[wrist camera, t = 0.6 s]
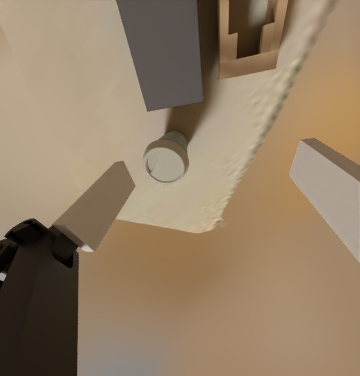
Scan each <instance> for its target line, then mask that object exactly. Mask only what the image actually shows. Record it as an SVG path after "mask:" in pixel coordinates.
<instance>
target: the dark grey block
mask: <svg viewBox="0 0 360 376" xmlns="http://www.w3.org/2000/svg"><path fill="white" fill-rule="evenodd" d="M116 1H117V5H118V8H119V12H120V15H121V19H122V23H123V26H124V30H125V33H126V37H127V40H128V44H129V48H130V51H131V55H132V58H133V62H134V66H135V69H136V73H137V76H138V80H139V84H140V87H141V91H142V94H143V98H144V101H145V105H146V109H147V112H148V111H153V110H159V109H165V108H170V107H176V106H181V105H187V104H192V103H198V102H203V84H202V67H201V51H200V34H199V18H198V1H197V0H116Z"/></svg>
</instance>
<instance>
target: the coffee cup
mask: <svg viewBox="0 0 360 376" xmlns="http://www.w3.org/2000/svg"><path fill="white" fill-rule="evenodd" d="M143 166H144V169H145V172H146V173H147V175H148V176H149V177H150V178H151V179H152V180H154V181H156V182H158V183H161V184H173V183H176V182H177V181H179V180H180V179H181V178H183V177H184V175H185V174H186V172H187V170H188V167H189V159H188V156H187V139H186V137H185V136H184V134H183V133H181V132H179V131H176V130H173V131H170V132H168V133H167V134H165V135H164V136H163V137H161V138H160V139H159V140H157V141H154V142H152V143H151V144H149V145H148V147H147V148H146V150H145V152H144V155H143Z"/></svg>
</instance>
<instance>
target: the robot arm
mask: <svg viewBox="0 0 360 376" xmlns="http://www.w3.org/2000/svg"><path fill="white" fill-rule="evenodd" d="M289 176H290V177H291V179H292V180H293V181H294V182H295V184H296V185H297V186H298V187H299V189H300V190H301V191H302V192H303V193H304V195H305V196H306V197H307V198H308V200H309V201H310V202H311V203H312V204H313V206H314V207H315V208H316V209H317V211H318V212H319V213H320V214H321V216H322V217H323V218H324V219H325V220H326V222H327V223H328V224H329V226H330V227H331V228H332V229H333V230H334V232H335V233H336V234H337V235H338V237H339V238H340V239H341V240H342V242H343V243H344V244H345V245H346V246H347V248H348V249H349V250H350V252H351V253H352V254H353V255H354V256H355V258H356V259H357V260H358V261H359V263H360V165H358V164H357V163H355V162H353V161H351V160H350V159H348V158H347V157H345V156H343V155H341V154H340V153H338V152H336V151H335V150H333V149H332V148H330V147H328V146H327V145H325V144H323V143H322V142H320V141H318V140H317V139H315V138H311V139H303V140H300V142H299V145H298V148H297V151H296V155H295V157H294V161H293V163H292V166H291V169H290V172H289ZM134 187H135V184H134V182H133V180H132V178H131V176H130V174H129V172H128V170H127V167H126V165H125V163H124V161H119V162H115V163H114V164H113V165H112V166H111V167H110V168H109V169H108V170H107V171H106V172H105V173H104V174H103V175H102V176H101V177H100V178H99V179H98V180H97V181H96V182H95V183H94V184H93V185H92V186H91V187H90V188H89V189H88V190H87V191H86V192H85V193H84V194H83V195H82V196H81V197H80V198H79V199H78V200H77V201H76V202H75V203H74V204H73V205H72V206H71V207H70V208H69V209H68V210H67V211H66V212H65V213H64V214H63V215H62V216H61V217H60V218H59V219H58V220H56V221H55V223H53V225H52V226H51V227H50V228H49V229H47V228H46V227H45V226H43V225H42V224H41V223H40V222H38V221H37V220H36V219H29V220H25V221H23V222H21V223H20V224H18V225H16V226H15V227H13V228H12V229H11V230H10V231H8V232H7V234H6V235H5V236H4V237H6V238H7V239H3V240H1V241H0V273H4V274H6V278H5V280H4V281H1V280H0V376H77V342H78V341H77V340H78V266H79V265H78V264H79V257H78V256H79V254H78V252H77V251H76V249H77V248H78V246H79V247H80V248H81V249H82V250H84V251H88V252H95V250H96V249H97V247H98V246H99V244H100V242H101V241H102V239H103V237H104V236H105V234H106V233H107V231H108V229H109V228H110V226H111V225H112V223H113V221H114V220H115V218H116V217H117V215H118V213H119V212H120V210H121V208H122V207H123V205H124V204H125V202H126V200H127V199H128V197H129V196H130V194H131V192H132V191H133V189H134Z"/></svg>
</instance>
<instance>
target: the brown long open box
mask: <svg viewBox="0 0 360 376" xmlns="http://www.w3.org/2000/svg"><path fill="white" fill-rule="evenodd" d="M287 4H288V0H268V4H267V12H266V20H265V25H264V26H263V27H262V30H261V38H260V46H259V54H257V55H253V56H249V57H245V58H240V59H236V55H237V36H238V32H237V33H234V34H230V35H228V23H229V0H217V34H218V80H223V79H227V78H232V77H237V76H242V75H247V74H251V73H256V72H261V71H266V70H271V69H275V68H276V64H277V59H278V53H279V48H280V42H281V37H282V31H283V26H284V20H285V15H286V9H287Z"/></svg>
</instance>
